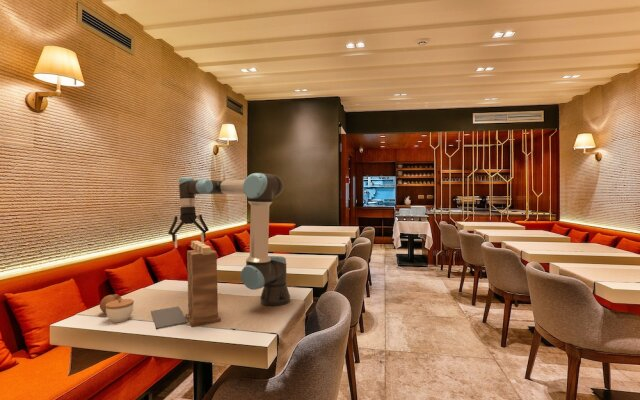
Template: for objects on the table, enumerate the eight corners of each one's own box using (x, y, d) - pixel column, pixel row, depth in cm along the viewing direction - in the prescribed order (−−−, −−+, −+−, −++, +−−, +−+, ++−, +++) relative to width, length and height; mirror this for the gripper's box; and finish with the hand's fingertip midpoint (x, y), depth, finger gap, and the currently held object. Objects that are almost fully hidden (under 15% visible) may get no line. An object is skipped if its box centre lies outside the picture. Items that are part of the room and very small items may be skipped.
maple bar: (191, 247, 160) (190, 240, 160) (197, 246, 161) (197, 240, 161) (203, 255, 138) (203, 247, 138) (210, 254, 139) (210, 247, 139)
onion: (121, 318, 158) (131, 299, 158) (102, 319, 150) (112, 299, 150) (111, 308, 162) (121, 289, 163) (91, 309, 154) (102, 289, 155)
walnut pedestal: (185, 316, 150) (184, 250, 150) (212, 311, 157) (211, 248, 156) (191, 327, 138) (190, 255, 138) (220, 321, 145) (219, 252, 144)
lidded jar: (121, 325, 142) (120, 303, 142) (99, 323, 144) (99, 302, 144) (139, 316, 152) (139, 295, 152) (119, 314, 154) (118, 294, 154)
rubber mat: (151, 312, 157) (151, 311, 157) (178, 307, 163) (178, 306, 163) (156, 329, 137) (156, 327, 137) (187, 323, 143) (187, 321, 143)
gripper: (209, 205, 189) (211, 243, 188) (161, 207, 175) (163, 248, 175) (213, 205, 182) (215, 243, 182) (163, 207, 169) (165, 249, 168)
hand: (189, 246), depth 178 cm, fingers open, 13 cm apart
